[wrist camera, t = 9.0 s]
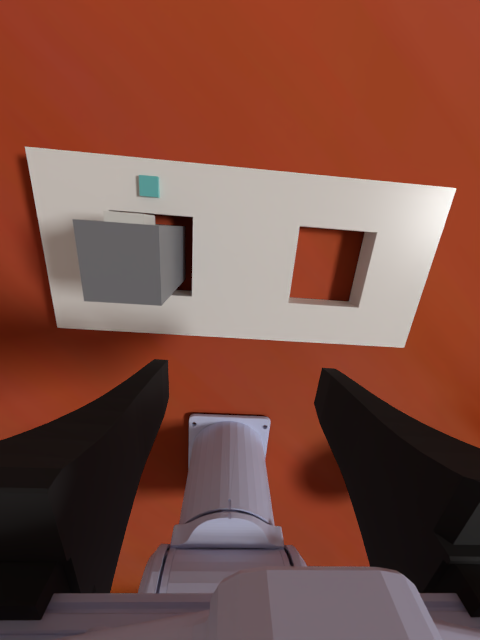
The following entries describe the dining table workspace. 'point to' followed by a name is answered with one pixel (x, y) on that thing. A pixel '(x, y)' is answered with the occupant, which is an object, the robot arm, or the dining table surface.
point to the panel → (243, 246)
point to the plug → (129, 258)
